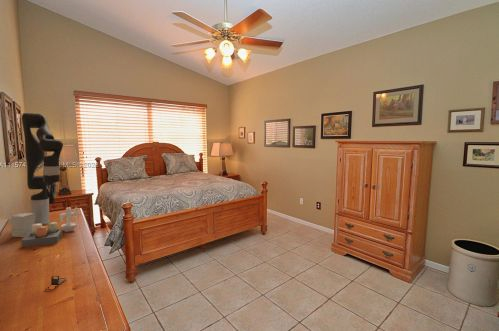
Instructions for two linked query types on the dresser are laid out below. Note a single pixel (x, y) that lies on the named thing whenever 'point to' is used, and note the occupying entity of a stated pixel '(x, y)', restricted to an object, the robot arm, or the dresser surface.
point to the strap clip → (56, 280)
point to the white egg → (35, 228)
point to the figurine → (68, 219)
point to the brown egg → (41, 231)
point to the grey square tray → (41, 239)
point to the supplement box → (22, 224)
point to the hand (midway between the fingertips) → (52, 203)
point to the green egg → (52, 227)
